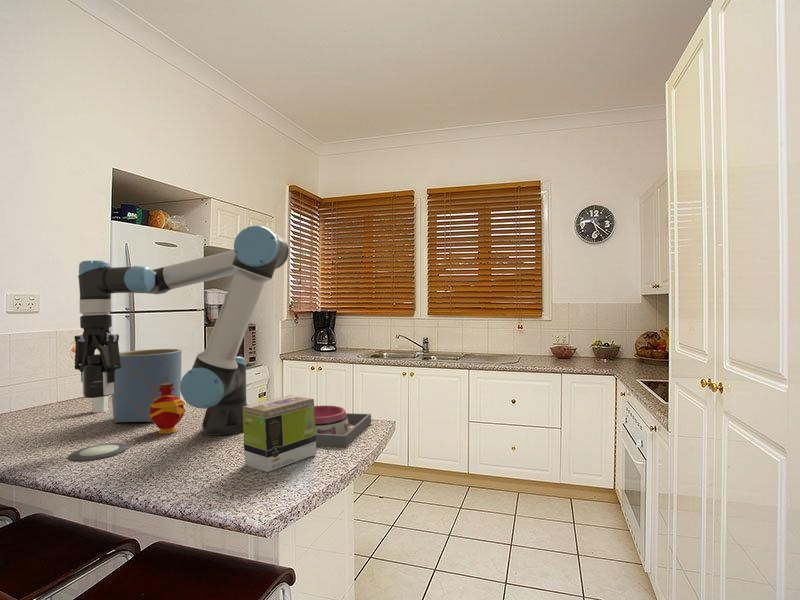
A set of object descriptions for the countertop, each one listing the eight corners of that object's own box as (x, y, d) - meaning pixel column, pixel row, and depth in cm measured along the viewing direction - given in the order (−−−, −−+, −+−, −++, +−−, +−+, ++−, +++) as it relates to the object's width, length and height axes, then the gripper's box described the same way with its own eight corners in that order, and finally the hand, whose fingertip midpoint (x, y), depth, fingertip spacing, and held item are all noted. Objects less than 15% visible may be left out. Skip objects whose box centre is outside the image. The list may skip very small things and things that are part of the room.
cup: (113, 410, 174) (113, 381, 174) (94, 414, 168) (94, 384, 168) (105, 408, 177) (104, 380, 177) (86, 412, 172) (86, 383, 172)
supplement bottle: (97, 398, 125) (95, 355, 125) (77, 398, 127) (76, 356, 127) (118, 393, 132) (116, 352, 132) (99, 393, 133) (98, 353, 133)
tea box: (293, 448, 121) (291, 393, 122) (317, 455, 115) (315, 398, 115) (243, 464, 110) (241, 404, 110) (266, 473, 103) (265, 409, 104)
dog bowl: (363, 429, 139) (362, 407, 139) (321, 446, 123) (320, 421, 123) (319, 422, 149) (319, 401, 149) (276, 436, 133) (275, 413, 134)
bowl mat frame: (371, 423, 145) (370, 413, 145) (346, 446, 121) (345, 435, 121) (302, 420, 150) (301, 411, 150) (265, 443, 127) (265, 432, 127)
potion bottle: (144, 437, 135) (143, 387, 135) (153, 428, 145) (152, 382, 145) (182, 433, 138) (181, 385, 138) (189, 425, 148) (187, 380, 148)
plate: (138, 446, 127) (138, 443, 127) (98, 462, 114) (98, 459, 114) (100, 444, 130) (100, 441, 130) (57, 459, 117) (57, 457, 117)
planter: (136, 410, 173) (135, 349, 173) (194, 409, 172) (193, 348, 172) (94, 426, 150) (92, 356, 150) (160, 425, 149) (158, 355, 149)
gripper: (134, 313, 130) (136, 392, 130) (81, 314, 135) (83, 390, 135) (111, 313, 123) (114, 397, 123) (56, 315, 128) (59, 396, 128)
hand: (98, 393), depth 129 cm, fingers closed on supplement bottle, 7 cm apart
